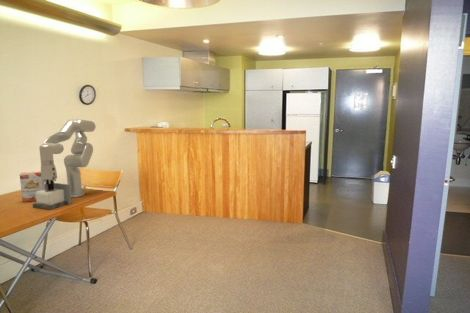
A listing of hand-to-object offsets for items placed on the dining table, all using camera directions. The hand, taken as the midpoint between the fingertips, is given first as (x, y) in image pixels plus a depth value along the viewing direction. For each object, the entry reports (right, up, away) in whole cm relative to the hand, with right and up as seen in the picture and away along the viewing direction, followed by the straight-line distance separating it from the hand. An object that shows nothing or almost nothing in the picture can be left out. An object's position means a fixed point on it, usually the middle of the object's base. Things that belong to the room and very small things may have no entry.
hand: (50, 189), depth 221 cm
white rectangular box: (0, -9, +1) cm, 9 cm away
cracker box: (-20, -10, +15) cm, 26 cm away
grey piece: (0, -12, +2) cm, 12 cm away
